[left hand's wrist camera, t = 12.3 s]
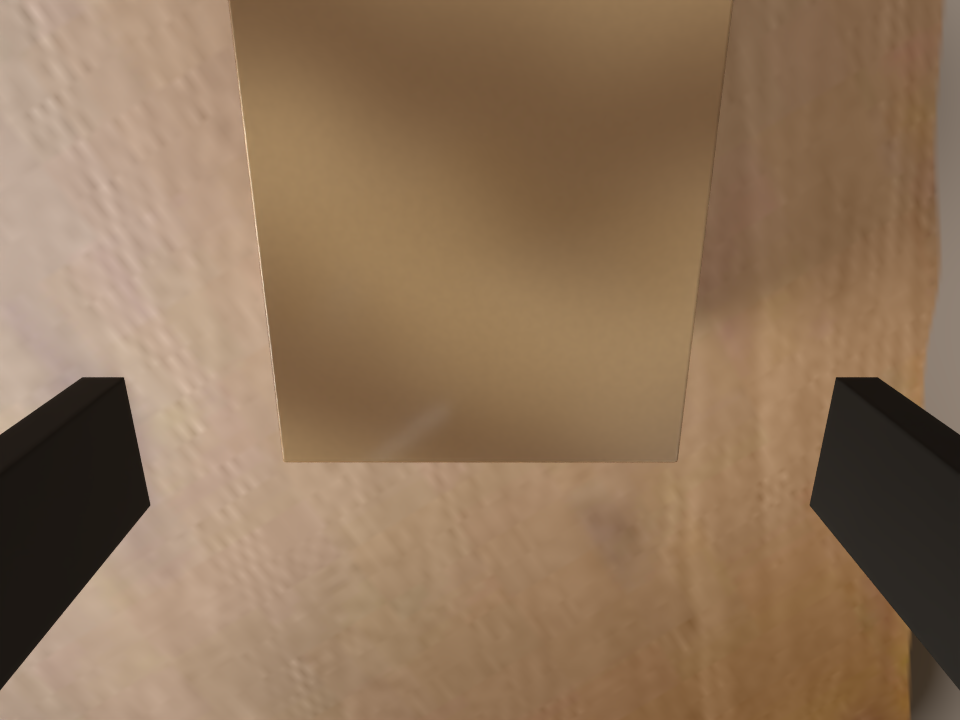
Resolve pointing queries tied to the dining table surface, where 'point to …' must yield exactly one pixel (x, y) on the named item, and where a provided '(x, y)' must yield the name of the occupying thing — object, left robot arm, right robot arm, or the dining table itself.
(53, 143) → the dining table surface
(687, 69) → the cabinet
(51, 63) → the dining table surface
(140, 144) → the dining table surface
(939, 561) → the left robot arm
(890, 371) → the dining table surface
